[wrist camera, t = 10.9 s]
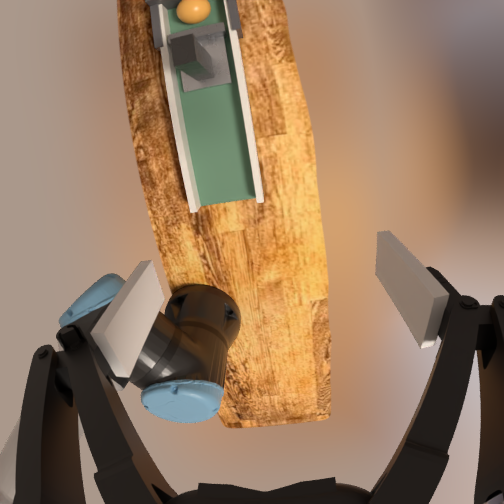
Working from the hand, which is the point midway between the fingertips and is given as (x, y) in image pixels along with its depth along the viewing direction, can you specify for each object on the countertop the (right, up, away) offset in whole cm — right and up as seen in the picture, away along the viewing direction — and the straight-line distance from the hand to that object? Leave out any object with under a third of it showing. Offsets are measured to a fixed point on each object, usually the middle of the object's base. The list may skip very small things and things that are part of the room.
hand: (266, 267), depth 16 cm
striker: (-8, +29, +19) cm, 35 cm away
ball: (-9, +36, +13) cm, 39 cm away
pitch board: (-7, +25, +22) cm, 34 cm away
